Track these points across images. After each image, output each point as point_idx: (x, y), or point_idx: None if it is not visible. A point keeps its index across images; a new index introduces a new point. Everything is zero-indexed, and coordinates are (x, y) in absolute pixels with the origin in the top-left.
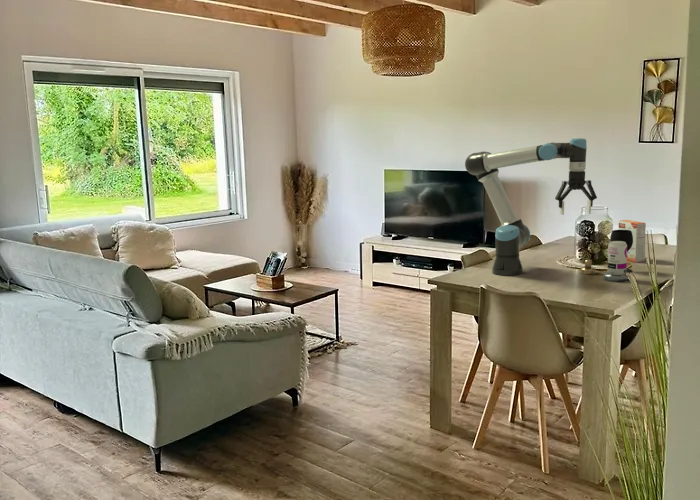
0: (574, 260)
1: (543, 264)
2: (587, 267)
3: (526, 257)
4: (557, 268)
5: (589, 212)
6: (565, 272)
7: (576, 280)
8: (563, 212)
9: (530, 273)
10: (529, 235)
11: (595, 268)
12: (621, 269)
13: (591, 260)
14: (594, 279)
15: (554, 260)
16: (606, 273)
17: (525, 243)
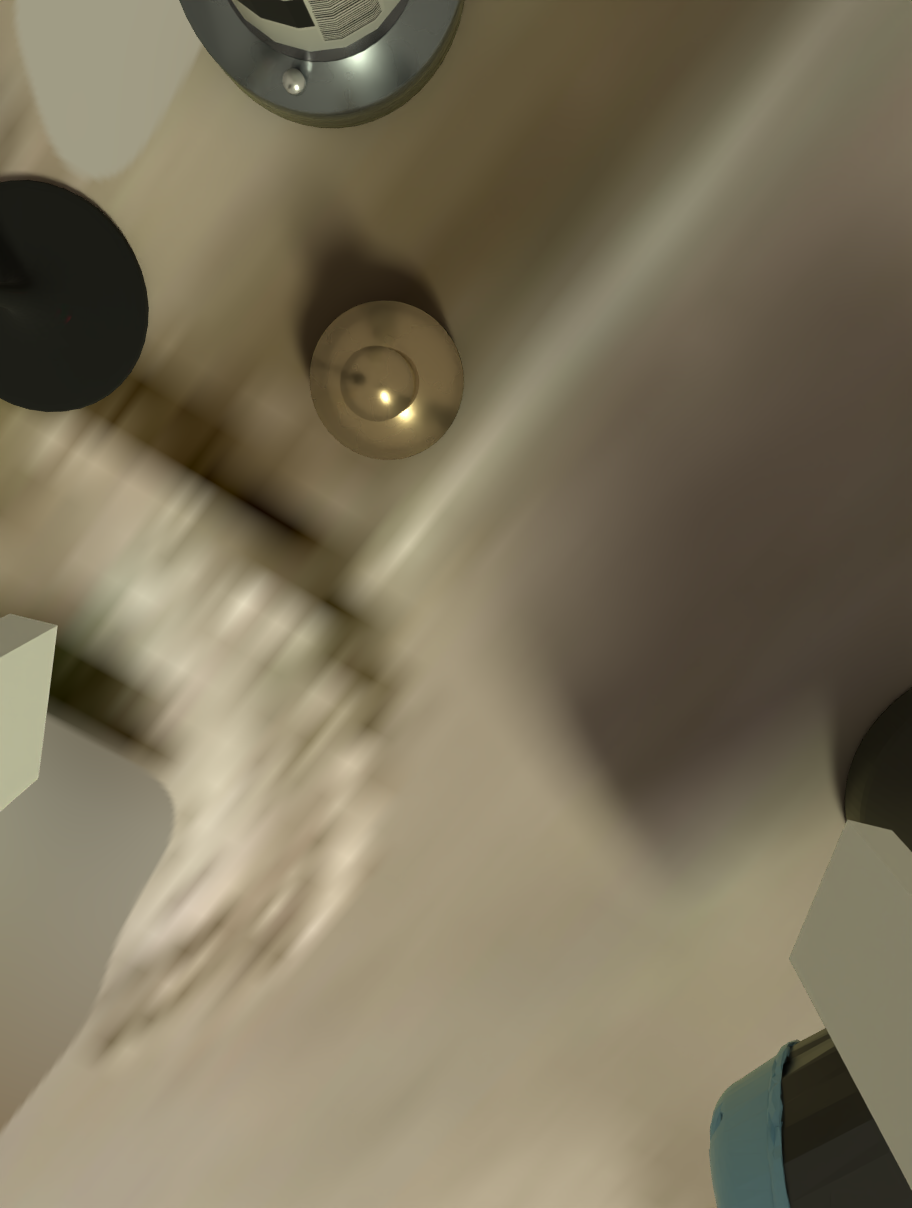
0: (153, 888)
1: (494, 891)
2: (410, 361)
3: (434, 1165)
4: (498, 701)
5: (25, 632)
6: (551, 524)
7: (708, 160)
8: (889, 862)
9: (845, 654)
10: (771, 1132)
11: (329, 329)
12: None
13: (353, 353)
14: (526, 98)
15: (307, 970)
16: (395, 36)
17: (803, 1042)
